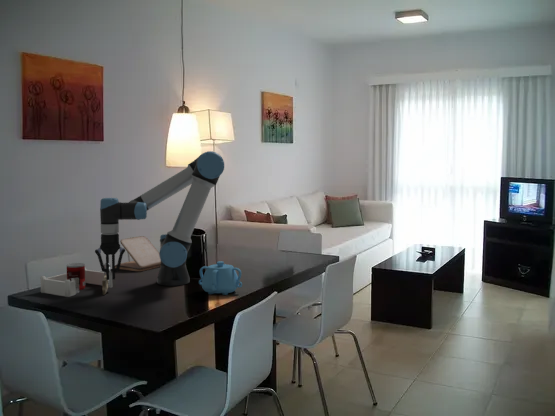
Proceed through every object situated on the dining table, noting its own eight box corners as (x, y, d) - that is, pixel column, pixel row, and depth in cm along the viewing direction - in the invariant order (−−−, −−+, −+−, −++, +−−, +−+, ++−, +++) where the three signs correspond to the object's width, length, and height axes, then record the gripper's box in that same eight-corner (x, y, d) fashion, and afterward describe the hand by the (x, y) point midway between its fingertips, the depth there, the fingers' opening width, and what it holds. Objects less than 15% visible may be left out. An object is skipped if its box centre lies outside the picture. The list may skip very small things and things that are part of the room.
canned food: (81, 285, 253) (80, 262, 252) (88, 289, 247) (87, 264, 246) (64, 288, 248) (63, 264, 247) (70, 291, 242) (70, 266, 241)
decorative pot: (231, 286, 253) (231, 257, 252) (244, 294, 238) (244, 263, 237) (197, 290, 246) (196, 260, 245) (208, 298, 231) (208, 266, 230)
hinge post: (112, 285, 254) (111, 262, 253) (107, 286, 251) (107, 263, 250) (107, 284, 255) (107, 261, 254) (102, 286, 253) (102, 263, 252)
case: (140, 272, 284) (140, 241, 282) (110, 268, 294) (110, 238, 293) (166, 266, 301) (166, 237, 300) (138, 262, 312) (138, 234, 310)
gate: (105, 286, 250) (105, 274, 250) (108, 286, 250) (108, 274, 250) (102, 294, 236) (102, 281, 235) (105, 294, 236) (105, 281, 235)
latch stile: (79, 292, 240) (78, 277, 240) (75, 293, 238) (74, 278, 238) (76, 291, 241) (75, 277, 241) (71, 293, 239) (71, 278, 239)
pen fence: (110, 285, 254) (110, 270, 253) (67, 297, 232) (66, 280, 231) (84, 281, 262) (83, 267, 261) (39, 292, 240) (39, 276, 239)
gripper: (125, 231, 245) (125, 284, 247) (94, 232, 242) (95, 285, 244) (125, 234, 238) (126, 287, 240) (94, 235, 235) (95, 289, 237)
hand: (110, 286), depth 242 cm, fingers closed
